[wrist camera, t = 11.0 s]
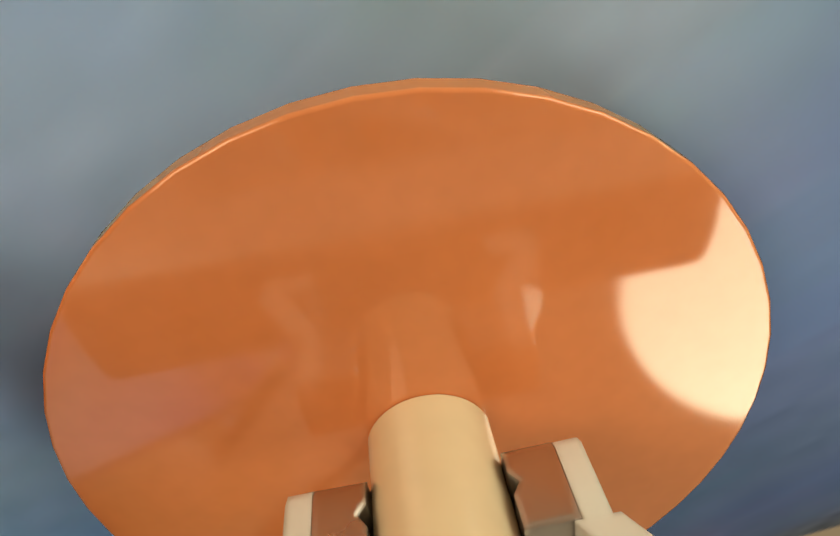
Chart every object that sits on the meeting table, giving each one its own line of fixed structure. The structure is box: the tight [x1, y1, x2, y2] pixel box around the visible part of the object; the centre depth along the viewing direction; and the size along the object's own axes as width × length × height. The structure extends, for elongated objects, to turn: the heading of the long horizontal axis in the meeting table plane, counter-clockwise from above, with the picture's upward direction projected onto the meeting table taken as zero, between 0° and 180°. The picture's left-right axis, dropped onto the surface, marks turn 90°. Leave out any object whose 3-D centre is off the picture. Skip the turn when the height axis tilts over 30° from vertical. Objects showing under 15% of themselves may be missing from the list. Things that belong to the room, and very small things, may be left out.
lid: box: [43, 78, 771, 536], centre depth 11 cm, size 15×15×5 cm
